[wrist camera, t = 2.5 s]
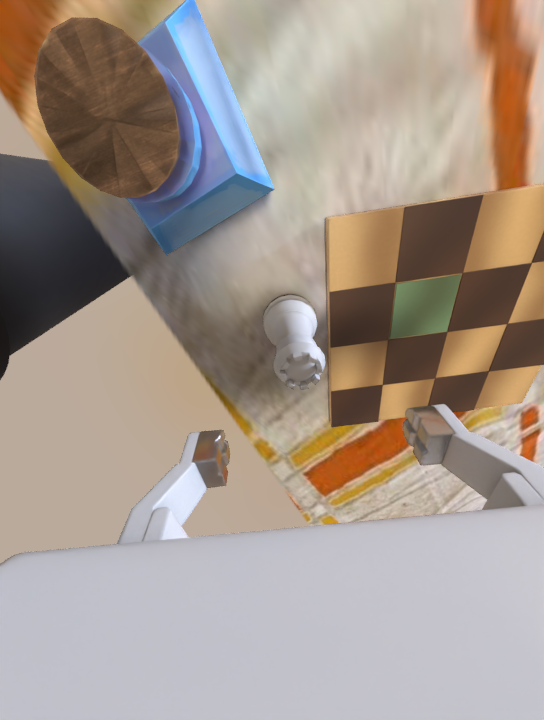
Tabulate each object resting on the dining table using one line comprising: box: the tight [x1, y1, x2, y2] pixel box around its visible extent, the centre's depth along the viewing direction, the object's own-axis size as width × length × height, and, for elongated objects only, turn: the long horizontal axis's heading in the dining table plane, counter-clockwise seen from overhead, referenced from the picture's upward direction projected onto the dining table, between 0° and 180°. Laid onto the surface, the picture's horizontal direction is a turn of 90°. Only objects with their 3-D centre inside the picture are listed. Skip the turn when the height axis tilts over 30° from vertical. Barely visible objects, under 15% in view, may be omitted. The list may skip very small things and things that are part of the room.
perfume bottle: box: [34, 0, 274, 255], centre depth 11 cm, size 6×6×12 cm
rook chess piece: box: [263, 295, 326, 390], centre depth 19 cm, size 4×4×8 cm
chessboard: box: [325, 183, 544, 427], centre depth 23 cm, size 20×20×1 cm
